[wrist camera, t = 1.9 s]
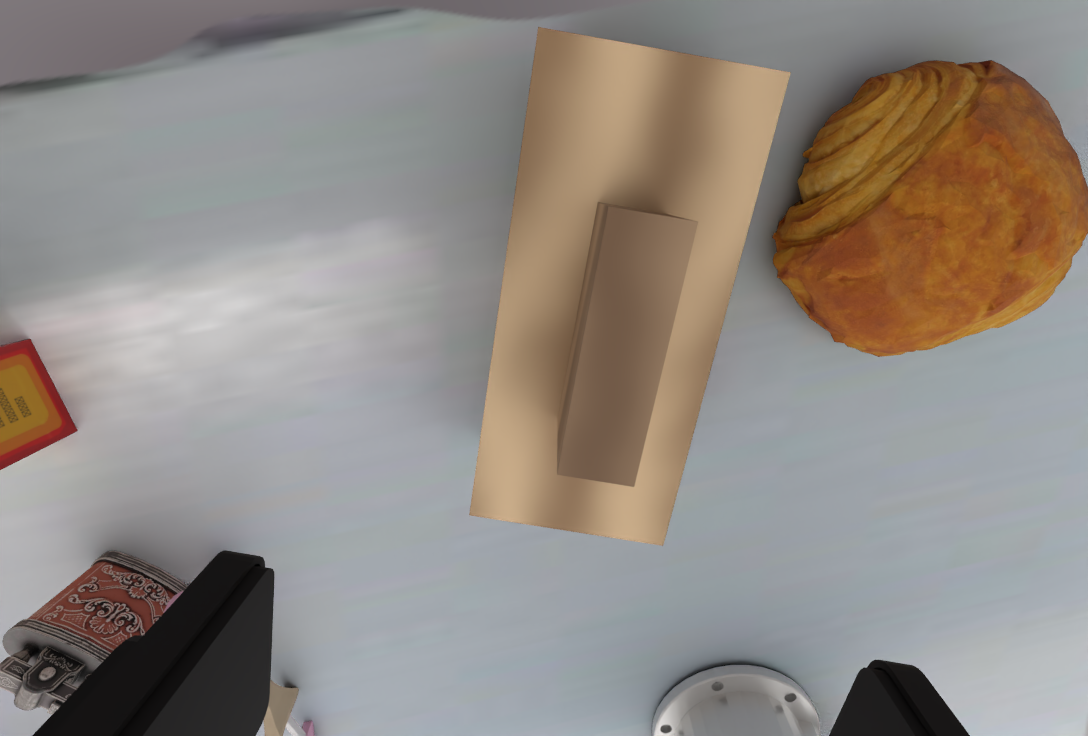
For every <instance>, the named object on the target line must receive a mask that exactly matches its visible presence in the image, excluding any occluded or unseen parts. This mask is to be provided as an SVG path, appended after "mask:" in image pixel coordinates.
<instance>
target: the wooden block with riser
mask: <svg viewBox="0 0 1088 736" xmlns="http://www.w3.org/2000/svg"><path fill="white" fill-rule="evenodd" d="M790 73H791V72H785V71H780V70H774V69H769V68H763V67H758V66H752V65H747V64H741V63H735V62H730V61H724V60H719V59H713V58H708V57H702V56H696V55H691V54H685V53H680V52H674V51H669V50H663V49H658V48H652V47H646V46H641V45H635V44H630V43H624V42H619V41H613V40H608V39H602V38H596V37H591V36H585V35H580V34H574V33H569V32H563V31H557V30H552V29H546V28H541V27H538V33H537V40H536V47H535V55H534V62H533V69H532V76H531V83H530V90H529V97H528V104H527V111H526V118H525V125H524V132H523V139H522V146H521V153H520V161H519V168H518V175H517V182H516V189H515V196H514V203H513V210H512V217H511V224H510V231H509V238H508V245H507V252H506V260H505V267H504V274H503V281H502V288H501V295H500V302H499V309H498V316H497V323H496V330H495V337H494V344H493V351H492V358H491V366H490V373H489V380H488V387H487V394H486V401H485V408H484V415H483V422H482V429H481V436H480V443H479V450H478V457H477V464H476V472H475V479H474V486H473V493H472V500H471V507H470V514H469V515H471V516H477V517H484V518H490V519H496V520H503V521H509V522H515V523H522V524H528V525H534V526H541V527H547V528H554V529H560V530H566V531H573V532H579V533H585V534H592V535H598V536H604V537H611V538H617V539H624V540H630V541H636V542H643V543H649V544H655V545H662V546H663V544H664V540H665V537H666V533H667V529H668V526H669V522H670V518H671V514H672V511H673V507H674V503H675V500H676V496H677V492H678V488H679V485H680V481H681V477H682V474H683V470H684V466H685V462H686V459H687V455H688V451H689V448H690V444H691V440H692V437H693V433H694V429H695V425H696V422H697V418H698V414H699V411H700V407H701V403H702V399H703V396H704V392H705V388H706V385H707V381H708V377H709V374H710V370H711V366H712V362H713V359H714V355H715V351H716V348H717V344H718V340H719V336H720V333H721V329H722V325H723V322H724V318H725V314H726V310H727V307H728V303H729V299H730V296H731V292H732V288H733V285H734V281H735V277H736V273H737V270H738V266H739V262H740V259H741V255H742V251H743V247H744V244H745V240H746V236H747V233H748V229H749V225H750V222H751V218H752V214H753V210H754V207H755V203H756V199H757V196H758V192H759V188H760V184H761V181H762V177H763V173H764V170H765V166H766V162H767V158H768V155H769V151H770V147H771V144H772V140H773V136H774V133H775V129H776V125H777V121H778V118H779V114H780V110H781V107H782V103H783V99H784V95H785V92H786V88H787V84H788V81H789V77H790Z"/></svg>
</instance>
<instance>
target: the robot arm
mask: <svg viewBox="0 0 1088 736" xmlns="http://www.w3.org/2000/svg"><path fill="white" fill-rule="evenodd" d="M273 597H274V571H273V569H271V568H265V561H264V559H263V557H260V556H255V555H249V554H243V553H237V552H231V551H222V552H220V553H219V554H218V555H217V556H215V558H214V559H213V560H212V561H211V562H210V563H209V564H208V565H207V566H206V567H205V568H204V570H203V571H202V572H201V573H200V574H199V575H198V576H197V577H196V578H195V579H194V581H193V582H192V583H191V584H190V585H189V586H188V587H187V588H186V589H185V590H184V591H183V593H182V594H181V595H180V596H179V597H178V598H177V599H176V600H175V601H174V602H173V603H172V605H171V606H170V607H169V608H168V609H167V610H166V611H165V612H164V613H163V614H162V615H161V617H160V618H159V619H158V620H157V621H156V622H155V623H154V624H153V625H152V626H151V627H150V629H149V630H148V631H147V632H146V633H145V634H144V635H134V636H132V637H130V638H128V639H126V640H125V641H123V642H122V643H121V644H120V645H119V646H118V647H117V648H115V649H114V650H113V651H112V652H111V654H110V655H109V656H108V657H107V658H106V659H105V660H104V661H103V662H102V663H101V664H100V665H99V666H98V667H97V668H96V669H95V670H94V671H93V672H92V674H91V675H90V676H89V677H88V678H87V679H86V680H85V681H84V682H83V683H82V684H81V685H80V686H79V687H78V688H77V689H76V690H75V691H74V692H73V694H72V695H71V696H70V697H69V698H68V699H67V700H66V701H65V702H64V703H63V704H62V705H61V706H60V707H59V708H58V709H57V710H56V711H55V712H54V714H53V715H52V716H51V717H50V718H49V719H48V720H47V721H46V722H45V723H44V724H43V725H42V726H41V727H40V728H39V729H38V730H37V731H36V732H35V734H34V735H33V736H256V734H257V732H258V730H259V728H260V726H261V724H262V722H263V720H264V717H265V715H266V712H267V708H268V704H269V698H270V675H271V649H272V623H273ZM652 736H820V722H819V718H818V715H817V712H816V710H815V708H814V706H813V704H812V702H811V700H810V698H809V697H808V695H807V694H806V693H805V692H804V690H803V689H802V688H801V687H800V686H799V685H798V684H796V683H795V682H794V681H793V680H792V679H790V678H788V677H786V676H784V675H783V674H781V673H779V672H776V671H773V670H770V669H767V668H764V667H758V666H751V665H728V666H721V667H715V668H712V669H708V670H705V671H702V672H699V673H697V674H695V675H693V676H691V677H689V678H687V679H685V680H684V681H682V682H681V683H680V684H678V685H677V686H675V687H674V688H673V689H672V690H671V691H670V692H669V693H668V694H667V695H666V696H665V697H664V699H663V700H662V702H661V703H660V705H659V706H658V708H657V710H656V713H655V716H654V719H653V725H652ZM829 736H970V735H969V734H968V733H967V731H966V730H965V729H964V727H963V726H962V725H961V723H960V722H959V721H958V719H957V718H956V716H955V715H954V714H953V712H952V711H951V710H950V708H949V707H948V706H947V704H946V703H945V702H944V700H943V699H942V698H941V696H940V695H939V694H938V692H937V691H936V690H935V688H934V687H933V686H932V684H931V683H930V682H929V680H928V679H927V678H926V676H925V675H924V674H923V673H922V672H921V671H920V670H919V669H918V668H916V667H915V666H913V665H907V664H901V663H895V662H889V661H883V660H874V661H872V662H871V663H870V664H869V666H868V667H867V668H863V669H861V670H860V671H859V673H858V675H857V677H856V679H855V681H854V683H853V686H852V688H851V690H850V692H849V694H848V696H847V698H846V701H845V703H844V705H843V707H842V709H841V711H840V713H839V716H838V718H837V720H836V722H835V724H834V726H833V729H832V731H831V733H830V735H829Z"/></svg>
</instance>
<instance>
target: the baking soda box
mask: <svg viewBox="0 0 1088 736" xmlns="http://www.w3.org/2000/svg"><path fill="white" fill-rule="evenodd" d="M76 431H78V430H77V429H76V427H75V425H74V423H73V421H72V419H71V417H70V415H69V413H68V411H67V409H66V407H65V405H64V403H63V401H62V399H61V398H60V396H59V394H58V392H57V390H56V388H55V386H54V384H53V382H52V380H51V378H50V376H49V374H48V372H47V370H46V368H45V367H44V365H43V363H42V361H41V359H40V357H39V355H38V353H37V351H36V349H35V347H34V345H33V343H32V341H31V339H27V340H23V341H19V342H14V343H10V344H6V345H1V346H0V470H1V469H3V468H5V467H7V466H9V465H11V464H13V463H15V462H17V461H19V460H21V459H23V458H25V457H27V456H29V455H31V454H33V453H35V452H37V451H39V450H41V449H43V448H45V447H47V446H49V445H51V444H53V443H55V442H57V441H59V440H61V439H63V438H65V437H66V436H68V435H70V434H72V433H74V432H76Z"/></svg>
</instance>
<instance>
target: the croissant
mask: <svg viewBox="0 0 1088 736" xmlns="http://www.w3.org/2000/svg"><path fill="white" fill-rule="evenodd" d="M803 157H806V158H809V161H808V163H805V164H804V168H803V172H802V175H801V176H800V177H799V179H798V181H797V182H798V186H799V190H800V194H801V198H802V200H800V201H799V203H798V202H797V203H796V204H795V205H794V206H792V207H789V209H788V211H787V213H786V215H785V216H784V218H783V219H782V220H781V221H780V222H779V225H778V229H777V231H776V233H774V235H773V236H772V238H773V239H774V240H775V242H776V248H777V253H775V255H774V258H773V264H774V265H775V267H776V268H777V270H778V274H777V278H780V279H781V280H782V282H783V283H784V284H785V285H786V286H787V287H788V288H789V289H790V291H791V293H792V295H793V296H794V298H795V300H796V301H797V302H798V304H799V305H800V306H801V308H802V309H803V310H804V311H805V313H806V314H808V315H809V318H810V319H812V320H813V321H815V322H816V323H817V324H819V325H820V326H821V327H823V328H824V329H826V330H827V331H829V332H830V333H831V335H832V337H833V340H834V342H840V343H845V344H846V345H847V346H848V347H852V348H856V349H858V350H860V351H862V352H865V353H869V354H873V355H876V356H878V357H880V356H891V355H901V354H903V353H905V352H913V351H915V350H928V349H932V348H934V347H937V346H939V345H943V344H947V343H950V342H952V341H955V340H957V339H960V338H962V337H965V336H968V335H972V334H976V333H979V332H982V331H984V330H987V329H990V328H999V327H1002V326H1004V325H1006V324H1008V323H1011V322H1013V321H1015V320H1017V319H1019V318H1021V317H1023V316H1025V315H1027V314H1028V313H1030V312H1032V311H1034V310H1035V309H1037V308H1038V307H1040V306H1041V305H1042V304H1043V303H1045V302H1046V301H1047V300H1048V299H1049V298H1050V296H1051V295H1052V294H1053V293H1054V291H1055V288H1056V287H1057V285H1058V284H1059V283H1060V282H1061V281H1062V280H1063V279H1064V277H1065V275H1066V273H1067V272H1068V270H1069V269H1070V267H1071V264H1072V257H1073V256H1074V255H1075V254H1076V253H1077V251H1078V250H1079V249H1080V248H1081V246H1082V241H1083V240H1084V239H1085V237H1086V235H1087V234H1088V187H1087V184H1086V181H1085V178H1084V176H1083V174H1082V169H1081V165H1080V162H1079V159H1078V156H1077V153H1076V152H1075V150H1074V149H1073V148H1072V146H1071V145H1070V143H1069V142H1068V141H1067V140H1066V138H1065V137H1064V134H1063V131H1062V128H1061V125H1060V122H1059V120H1058V118H1057V116H1056V115H1055V113H1054V111H1053V110H1052V108H1051V106H1050V104H1049V102H1048V101H1047V100H1046V99H1045V98H1044V97H1043V96H1042V95H1041V94H1040V93H1039V92H1038V91H1037V90H1036V89H1035V88H1033V87H1032V86H1031V85H1030V84H1029V83H1028V82H1027V81H1026V80H1025V79H1024V78H1022V77H1020V76H1018V75H1017V74H1015V73H1013V72H1012V71H1010V70H1009V69H1007V68H1006V67H1004V66H1003V65H1001V64H999V63H996V62H994V61H991V60H990V61H984V62H978V63H972V62H970V63H964V64H957V65H956V64H955V63H954V62H944V61H926V62H922V63H918V64H915V65H913V66H911V67H908V68H906V69H903V70H900V71H897V72H894V73H887V74H882V75H879V76H877V77H872V78H870V79H868V80H867V81H866V82H865V83H864V84H863V85H862V86H861V87H860V89H859V90H858V92H857V93H856V95H855V96H854V97H853V99H852V102H851V103H849V104H848V105H846V106H844V107H843V108H841V109H840V110H839V111H837V112H835V113H833V114H832V116H831V117H830V118H829V119H828V121H827V122H826V123H825V126H824V127H823V128H822V129H820V130H819V132H818V134H817V136H816V138H815V140H814V142H813V147H812V148H810V149H809V150H807V151H805V152H804V153H803Z"/></svg>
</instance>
